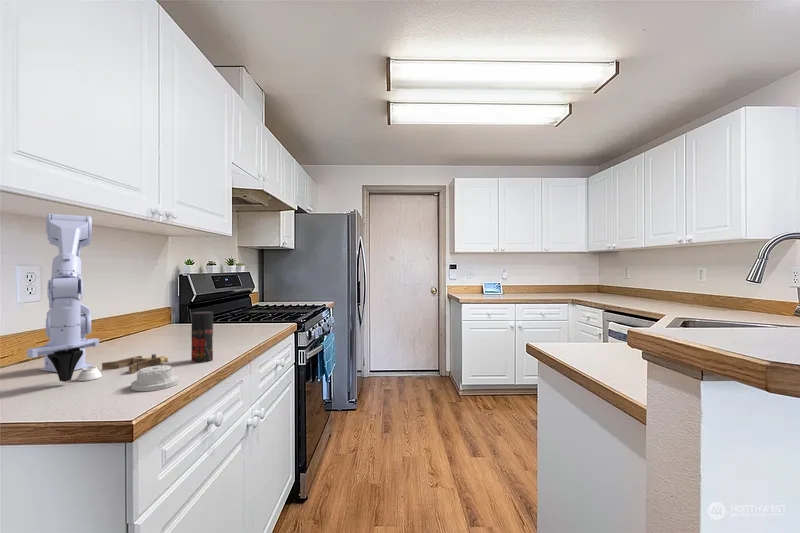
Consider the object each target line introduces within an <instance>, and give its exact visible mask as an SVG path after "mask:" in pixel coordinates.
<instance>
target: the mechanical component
mask: <svg viewBox="0 0 800 533" xmlns="http://www.w3.org/2000/svg"><path fill="white" fill-rule="evenodd" d="M136 373H137V374H136V380H134V381H132V382H130V390H131V391H136V392H150V391H159V390H164V389H168V388H171V387H174V386H176V385H178V384H179V383H180V382H179V381H180V380H179V379H180V378H179V376H177V375H176V374H175V375H174V366H171V365H166V364H165V365H162V364H161V365H157V366H151V367H146V368H142V369H140V370H137V371H136Z"/></svg>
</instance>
